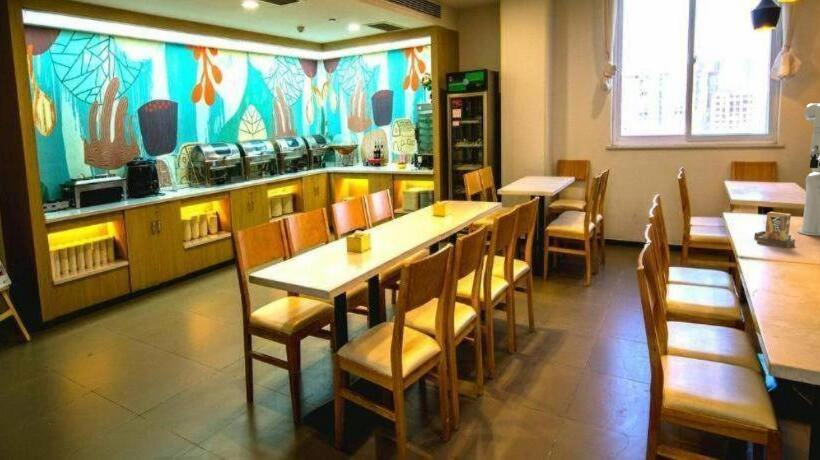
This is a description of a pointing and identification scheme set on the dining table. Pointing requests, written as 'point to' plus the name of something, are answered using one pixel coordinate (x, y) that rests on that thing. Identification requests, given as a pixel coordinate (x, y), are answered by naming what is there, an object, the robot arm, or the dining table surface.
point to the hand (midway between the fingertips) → (818, 167)
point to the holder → (778, 243)
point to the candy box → (777, 226)
